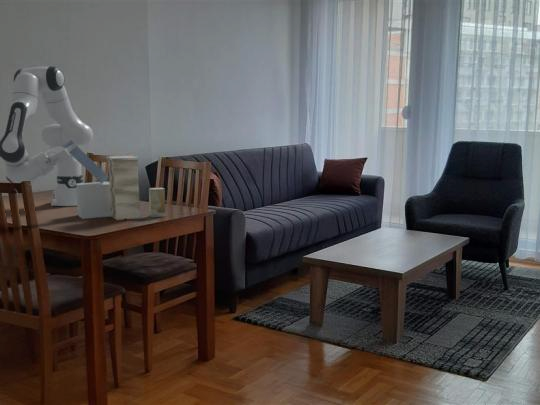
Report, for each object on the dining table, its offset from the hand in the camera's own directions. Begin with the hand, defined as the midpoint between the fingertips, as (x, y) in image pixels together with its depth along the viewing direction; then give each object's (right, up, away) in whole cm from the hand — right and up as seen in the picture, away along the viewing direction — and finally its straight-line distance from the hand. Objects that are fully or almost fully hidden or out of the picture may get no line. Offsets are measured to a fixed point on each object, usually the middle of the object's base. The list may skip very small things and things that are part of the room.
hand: (73, 144), depth 263 cm
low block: (+7, -30, +8) cm, 32 cm away
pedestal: (+21, -31, +3) cm, 38 cm away
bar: (+3, -9, +3) cm, 9 cm away
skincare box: (+34, -31, +6) cm, 47 cm away
